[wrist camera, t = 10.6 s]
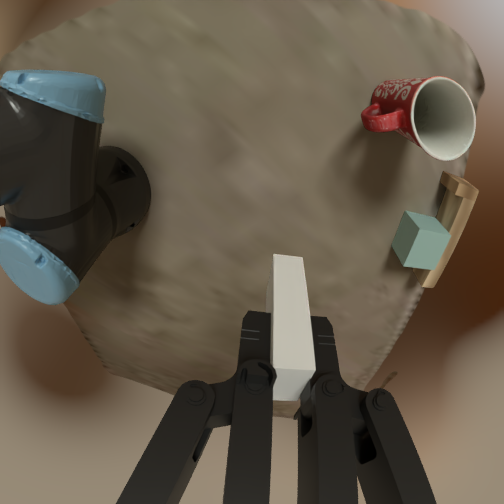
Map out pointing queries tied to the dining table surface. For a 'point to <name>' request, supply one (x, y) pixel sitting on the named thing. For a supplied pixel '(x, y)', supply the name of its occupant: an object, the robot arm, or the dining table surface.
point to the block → (420, 241)
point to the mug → (424, 114)
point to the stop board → (450, 222)
